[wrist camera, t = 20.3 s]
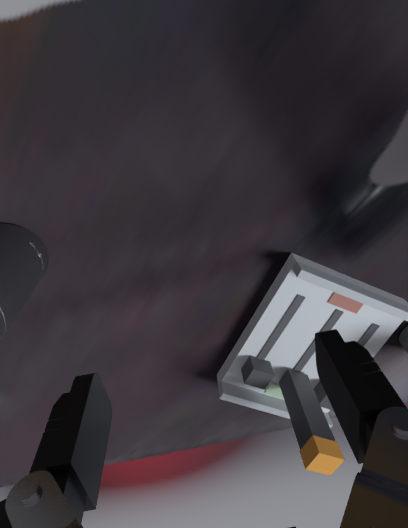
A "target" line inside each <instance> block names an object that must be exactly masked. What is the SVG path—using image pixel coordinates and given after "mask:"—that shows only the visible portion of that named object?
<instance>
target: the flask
mask: <svg viewBox="0 0 408 528" xmlns="http://www.w3.org/2000/svg"><path fill="white" fill-rule="evenodd" d="M399 342H400V343H401V345H402V346H403V347H404V349H405V350H406V351H407V352H408V326H407V327H405V328H404V329H403V330H402V331H401V333H400V336H399Z"/></svg>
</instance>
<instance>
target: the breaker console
mask: <svg viewBox="0 0 408 528" xmlns="http://www.w3.org/2000/svg"><path fill="white" fill-rule="evenodd" d="M403 320H406V321H408V303H407V302H406V301H405V300H404V299H402V298H400V297H398V296H395V295H393V294H390V293H388V292H385V291H383V290H381V289H378V288H376V287H373V286H371V285H368V284H366V283H364V282H361V281H359V280H356V279H354V278H351V277H349V276H347V275H344V274H342V273H339V272H337V271H334V270H332V269H330V268H327V267H325V266H322V265H320V264H317V263H315V262H313V261H310V260H308V259H305V258H303V257H300V256H298V255H296V254H293V253H291V254H290V256H289V257H288V259H287V261H286V262H285V264H284V265H283V267H282V269H281V270H280V272H279V274H278V275H277V277H276V279H275V280H274V282H273V283H272V285H271V287H270V288H269V290H268V292H267V293H266V295H265V297H264V298H263V300H262V301H261V303H260V305H259V306H258V308H257V310H256V311H255V313H254V315H253V316H252V318H251V319H250V321H249V323H248V324H247V326H246V328H245V329H244V331H243V333H242V334H241V336H240V338H239V339H238V341H237V342H236V344H235V346H234V347H233V349H232V351H231V352H230V354H229V356H228V357H227V359H226V360H225V362H224V364H223V365H222V367H221V369H220V370H219V372H218V374H217V382H218V389H219V397H220V399H222V400H226V401H229V402H233V403H236V404H240V405H243V406H247V407H250V408H254V409H257V410H261V411H264V412H268V413H271V414H275V415H278V416H282V417H285V418H289V419H290V416H289V413H288V410H287V407H286V404H285V400H284V397H283V394H282V391H281V388H280V385H279V381H280V380H281V378H282V377H283V375H284V374H285V372H286V371H287V370H288V369H291V370H294V371H297V372H300V373H303V374H307V375H308V377H309V380H310V382H311V384H312V387H313V389H314V391H315V394H316V396H317V399H318V401H319V403H320V406H321V408H322V410H323V413H324V415H325V417H326V420H327V422H328V424H329V427H330V428H331V427H332V426H333V424H332V422H331V420H330V417H329V415H328V412H329V411H330V410H333V408H332V406H331V403H330V401H329V399H328V397H327V395H326V393H325V390H324V388H323V386H322V384H321V382H320V379H319V376H318V372H317V367H316V353H315V333H318V332H323V331H328V330H334V329H336V330H337V331H338V332H339V333H340V335H341V337H342V338H343V340H344V342H350V341H356V342H357V343H359V344H360V345H362V346H363V347H364V348H366V349H367V350H368V352H369V353H370V354H371V356H372V357H374V356H375V355H376V353H377V352H378V351H379V350H380V348H381V347H382V346H383V345H384V344H385V342H386V341H387V340H388V339H389V337H390V336H391V335H392V334H393V333H394V331H395V330H396V329H397V328H398V326H399V325H400V324H401V323H402V322H403ZM333 411H334V410H333Z"/></svg>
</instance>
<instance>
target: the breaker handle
mask: <svg viewBox="0 0 408 528" xmlns="http://www.w3.org/2000/svg"><path fill="white" fill-rule="evenodd" d="M279 385H280V388H281V391H282V394H283V397H284V400H285V404H286V407H287V410H288V413H289V416H290V419H291V422H292V425H293V428H294V431H295V434H296V438H297V441H298V444H299V447H300V453H301V457H302V460H303V463H304V466H305V469H307V470H310V471H314V472H318V473H322V474H326V475H331V474H332V473H333V472H334V471H335V470H336V469H337V468H338V467H339V465H340V464H341V463H342V462H343V461H344V457H343V455H342V452H341V450H340V448H339V445H338V443H337V442H336V441H335V439H334V436H333V434H332V432H331V430H330V427H329V424H328V422H327V420H326V417H325V415H324V413H323V410H322V408H321V406H320V403H319V401H318V399H317V396H316V394H315V391H314V389H313V387H312V384H311V382H310V380H309V377H308V375H307V374H303V373H300V372H297V371H294V370H291V369H288V370H287V371H286V372H285V374H284V375H283V377H282V378H281V380H280V381H279Z"/></svg>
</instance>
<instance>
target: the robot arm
mask: <svg viewBox="0 0 408 528" xmlns="http://www.w3.org/2000/svg"><path fill="white" fill-rule="evenodd" d="M47 263H48V261H47V254H46V250H45V248H44V246H43V245H42V243H41V242H40V240H39V239H38V238H37V237H36V236H35V235H34V234H32V233H31V232H30V231H28V230H26V229H24V228H22V227H20V226H17V225H13V224H0V342H1V340H2V339H3V337H4V335H5V334H6V332H7V331H8V329H9V327H10V326H11V324H12V323H13V321H14V320H15V318H16V317H17V315H18V313H19V312H20V310H21V309H22V307H23V306H24V304H25V303H26V301H27V299H28V298H29V296H30V295H31V293H32V292H33V290H34V289H35V287H36V286H37V284H38V282H39V281H40V279H41V278H42V276H43V275H44V273H45V271H46V268H47ZM315 353H316V367H317V372H318V376H319V379H320V382H321V384H322V386H323V388H324V390H325V393H326V395H327V397H328V399H329V401H330V403H331V406H332V408H333V410H334V412H335V414H336V416H337V418H338V421H339V423H340V425H341V427H342V429H343V431H344V434H345V436H346V438H347V440H348V442H349V444H350V447H351V449H352V451H353V453H354V455H355V458H356V460H357V462H358V464H360V463H363V466H362V469H361V472H360V473H359V472H358V473H357V475H356V477H355V480H354V483H353V486H352V490H351V493H350V496H349V500H348V503H347V506H346V509H345V513H344V516H343V519H342V522H341V526H340V528H408V408H407V407H406V406H405V405H404V403H403V402H402V400H401V399H400V397H399V396H398V394H397V393H396V391H395V390H394V388H393V387H392V385H391V384H390V383H389V381H388V380H387V378H386V377H385V375H384V374H383V372H381V369H380V368H379V366H378V365H377V363H375V361H374V359H373V357H372V356H371V354H370V353H369V352H368V350H367V349H366V348H364V347H363V346H362V345H360V344H359V343H357V342H356V341H350V342H344V340H343V338H342V337H341V335H340V333H339V332H338V331H337V330H336V329H334V330H328V331H323V332H318V333H315ZM111 420H112V408H111V403H110V400H109V398H108V395H107V393H106V391H105V388H104V386H103V383H102V381H101V379H100V376H99V375H98V373H92V374H87V375H82V376H77V377H75V379H74V381H73V384H72V388H71V391H70V392H69V393H64V394H62V395H61V397H60V398H59V399H58V401H57V402H56V403H55V404H54V406H53V408H52V411H51V414H50V417H49V422H47V425H46V428H45V432H44V433H43V436H42V439H41V442H40V445H39V447H38V450H37V453H36V456H35V459H34V462H33V464H32V467H31V470H30V473H29V474H28V475H26V476H24V477H23V478H22V479H20V480H19V481H18V482H17V483H16V484H15V485H14V487H13V488H12V489H11V491H10V492H9V494H8V496H7V498H6V499H5V500H3V501H1V502H0V528H83V527H82V525H81V522H82V517H83V512H84V511H88V510H94V509H96V505H97V498H98V493H99V488H100V482H101V476H102V470H103V465H104V459H105V454H106V448H107V442H108V437H109V431H110V426H111ZM291 528H296V527H291Z"/></svg>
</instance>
